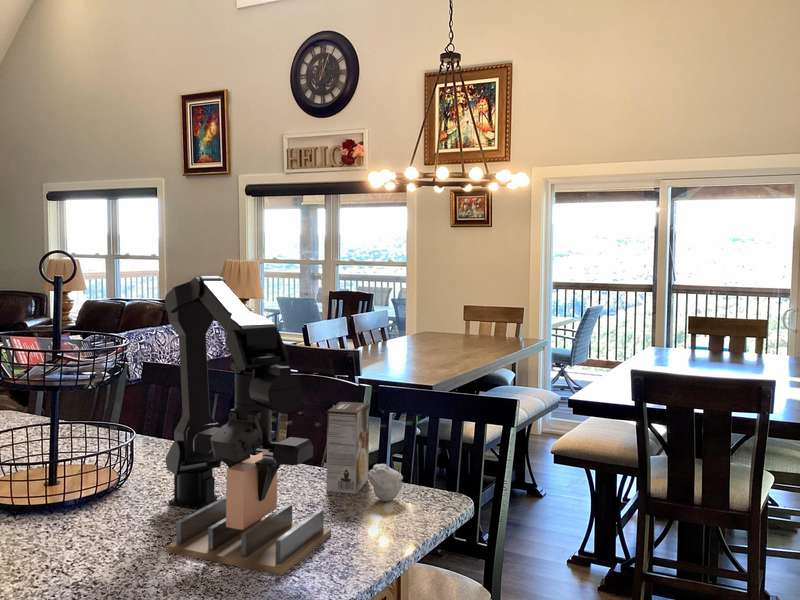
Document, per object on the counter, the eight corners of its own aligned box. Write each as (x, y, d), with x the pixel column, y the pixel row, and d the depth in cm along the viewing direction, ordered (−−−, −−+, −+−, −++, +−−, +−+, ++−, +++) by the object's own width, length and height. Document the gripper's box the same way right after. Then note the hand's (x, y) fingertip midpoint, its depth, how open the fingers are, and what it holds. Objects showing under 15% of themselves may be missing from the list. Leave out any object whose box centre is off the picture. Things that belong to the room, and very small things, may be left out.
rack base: (167, 552, 110) (167, 545, 110) (227, 517, 125) (227, 511, 125) (282, 575, 103) (282, 568, 103) (331, 535, 118) (331, 529, 118)
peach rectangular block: (226, 526, 110) (226, 469, 109) (260, 505, 119) (261, 452, 119) (242, 530, 109) (243, 471, 108) (276, 508, 118) (277, 454, 118)
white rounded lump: (362, 497, 137) (363, 461, 137) (397, 493, 139) (398, 458, 139) (371, 508, 131) (372, 470, 131) (407, 504, 134) (408, 467, 133)
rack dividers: (176, 544, 111) (176, 522, 111) (228, 514, 124) (228, 494, 124) (280, 564, 105) (280, 540, 104) (323, 530, 118) (323, 509, 117)
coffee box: (338, 477, 149) (340, 400, 148) (368, 480, 147) (370, 402, 146) (325, 491, 140) (326, 410, 139) (357, 494, 138) (358, 412, 137)
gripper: (170, 405, 109) (170, 506, 110) (279, 418, 102) (278, 525, 103) (214, 392, 119) (213, 485, 120) (315, 403, 113) (313, 501, 114)
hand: (252, 498), depth 114 cm, fingers closed on peach rectangular block, 3 cm apart
